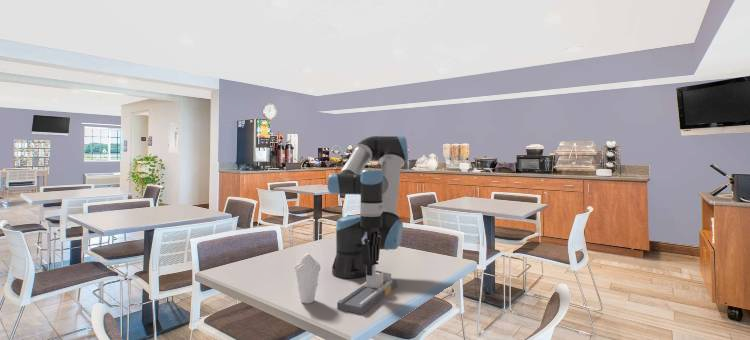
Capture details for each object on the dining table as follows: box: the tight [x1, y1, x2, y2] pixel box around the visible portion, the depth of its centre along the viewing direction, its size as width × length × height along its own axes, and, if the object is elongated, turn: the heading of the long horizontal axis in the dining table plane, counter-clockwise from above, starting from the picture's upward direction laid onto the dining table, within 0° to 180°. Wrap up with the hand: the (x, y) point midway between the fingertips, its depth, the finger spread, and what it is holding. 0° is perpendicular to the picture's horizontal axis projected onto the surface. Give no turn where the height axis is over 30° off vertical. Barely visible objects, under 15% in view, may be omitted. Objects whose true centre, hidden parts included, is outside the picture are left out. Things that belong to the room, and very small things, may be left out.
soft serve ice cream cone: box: [294, 252, 321, 304], centre depth 118 cm, size 8×8×16 cm
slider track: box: [336, 271, 398, 315], centre depth 123 cm, size 9×27×5 cm, turn 154°
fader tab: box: [368, 269, 384, 289], centre depth 127 cm, size 4×4×5 cm
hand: (370, 283), depth 123 cm, fingers closed
